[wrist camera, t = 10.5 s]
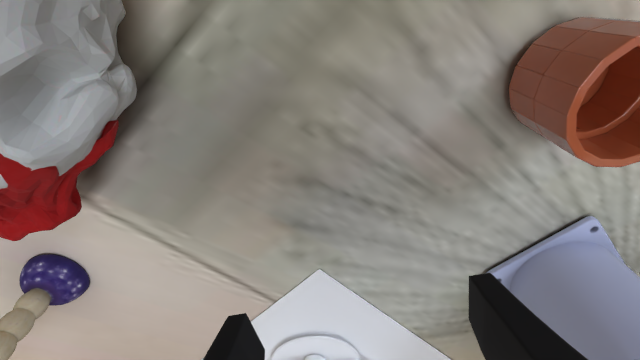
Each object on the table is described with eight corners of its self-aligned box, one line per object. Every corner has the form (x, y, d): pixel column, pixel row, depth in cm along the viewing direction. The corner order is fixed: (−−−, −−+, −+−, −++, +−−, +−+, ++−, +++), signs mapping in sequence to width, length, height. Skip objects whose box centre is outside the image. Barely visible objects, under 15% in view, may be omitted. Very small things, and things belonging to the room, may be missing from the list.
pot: (631, 78, 17) (738, 107, 13) (531, 145, 19) (595, 189, 15) (593, -12, 15) (706, -14, 11) (484, 73, 17) (543, 101, 13)
